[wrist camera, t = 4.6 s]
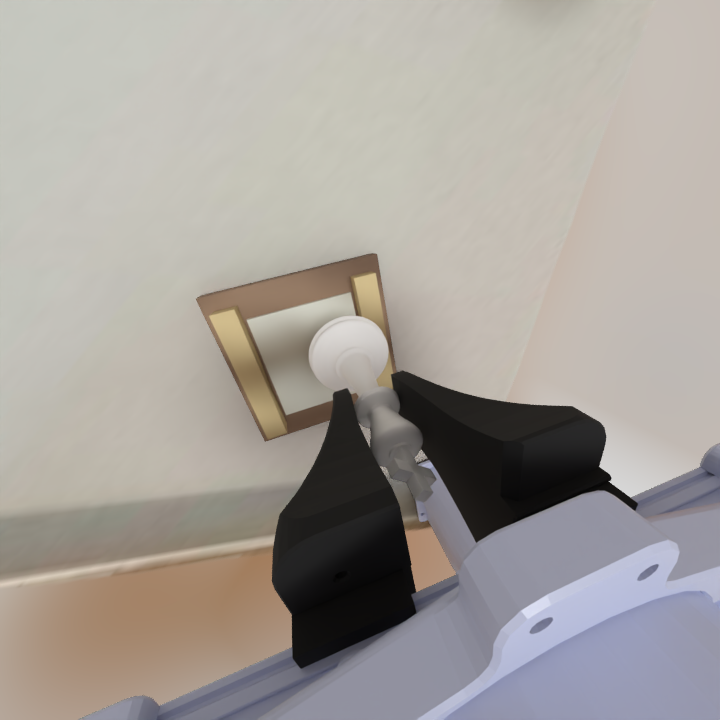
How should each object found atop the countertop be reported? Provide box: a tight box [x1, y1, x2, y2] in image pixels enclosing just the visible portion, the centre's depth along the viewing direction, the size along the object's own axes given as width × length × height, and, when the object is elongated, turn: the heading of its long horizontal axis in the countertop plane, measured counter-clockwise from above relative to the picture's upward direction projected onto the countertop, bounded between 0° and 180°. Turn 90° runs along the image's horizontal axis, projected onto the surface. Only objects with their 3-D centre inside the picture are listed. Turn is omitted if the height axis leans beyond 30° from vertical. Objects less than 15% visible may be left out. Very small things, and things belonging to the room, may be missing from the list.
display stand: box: [196, 253, 396, 441], centre depth 20 cm, size 12×12×2 cm
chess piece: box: [309, 316, 437, 502], centre depth 12 cm, size 5×5×10 cm
